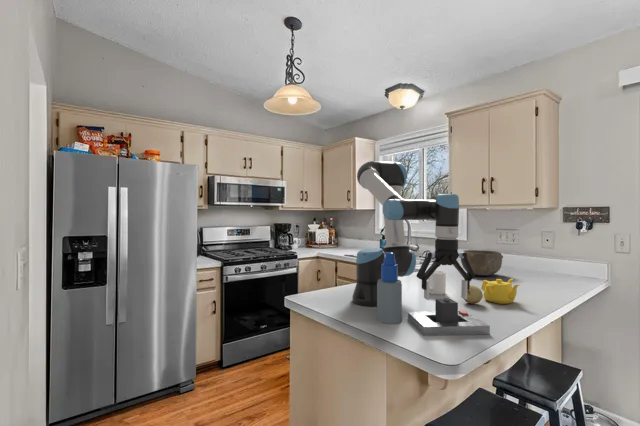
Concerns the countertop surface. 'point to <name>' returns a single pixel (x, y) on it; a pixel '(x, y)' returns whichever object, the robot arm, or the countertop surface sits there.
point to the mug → (437, 283)
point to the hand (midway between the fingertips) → (445, 298)
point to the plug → (446, 310)
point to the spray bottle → (389, 292)
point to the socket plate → (448, 324)
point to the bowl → (484, 261)
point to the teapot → (499, 291)
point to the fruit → (474, 295)
